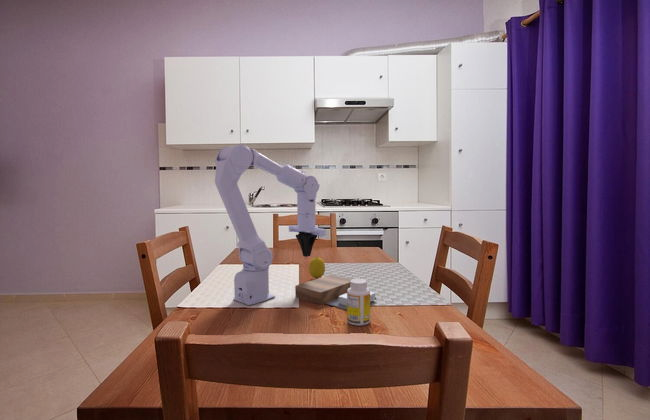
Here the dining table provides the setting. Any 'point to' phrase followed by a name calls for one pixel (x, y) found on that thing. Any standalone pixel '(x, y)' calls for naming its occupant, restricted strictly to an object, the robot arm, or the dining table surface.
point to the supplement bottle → (358, 303)
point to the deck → (323, 289)
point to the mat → (337, 304)
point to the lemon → (316, 267)
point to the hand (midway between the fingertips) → (306, 256)
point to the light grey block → (344, 298)
